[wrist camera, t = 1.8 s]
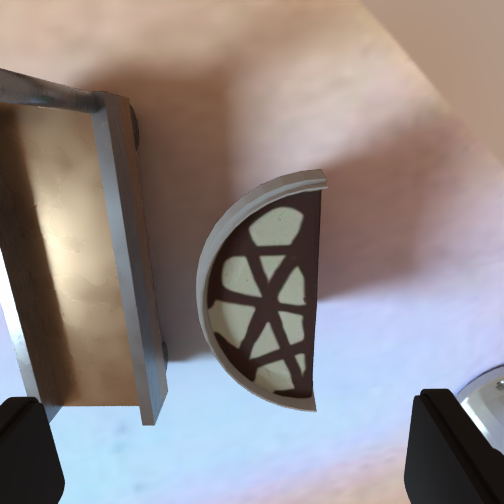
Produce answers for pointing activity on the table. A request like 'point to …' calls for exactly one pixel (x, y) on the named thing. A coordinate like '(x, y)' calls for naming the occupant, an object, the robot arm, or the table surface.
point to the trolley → (76, 249)
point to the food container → (265, 288)
